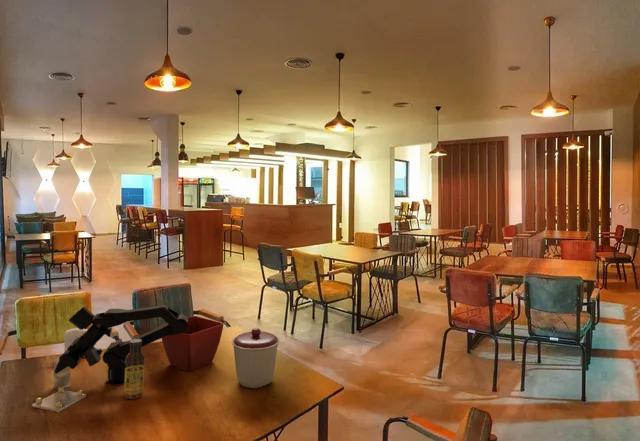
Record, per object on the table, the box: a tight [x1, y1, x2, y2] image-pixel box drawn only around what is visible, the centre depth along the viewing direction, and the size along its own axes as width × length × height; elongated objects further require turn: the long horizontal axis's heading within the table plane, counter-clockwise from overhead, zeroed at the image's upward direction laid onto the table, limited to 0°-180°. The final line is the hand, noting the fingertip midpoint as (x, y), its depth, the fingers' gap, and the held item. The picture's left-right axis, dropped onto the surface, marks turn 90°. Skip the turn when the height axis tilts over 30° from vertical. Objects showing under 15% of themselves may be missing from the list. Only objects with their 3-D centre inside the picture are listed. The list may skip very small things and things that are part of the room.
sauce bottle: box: [123, 338, 145, 400], centre depth 143 cm, size 6×6×20 cm
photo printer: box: [64, 327, 89, 358], centre depth 178 cm, size 10×4×12 cm, turn 98°
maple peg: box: [53, 357, 71, 390], centre depth 150 cm, size 5×5×10 cm
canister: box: [231, 327, 281, 389], centre depth 156 cm, size 18×18×21 cm
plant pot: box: [159, 315, 224, 372], centre depth 172 cm, size 19×19×17 cm
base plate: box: [31, 386, 87, 413], centre depth 139 cm, size 11×11×2 cm
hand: (57, 369), depth 149 cm, fingers closed on maple peg, 5 cm apart
